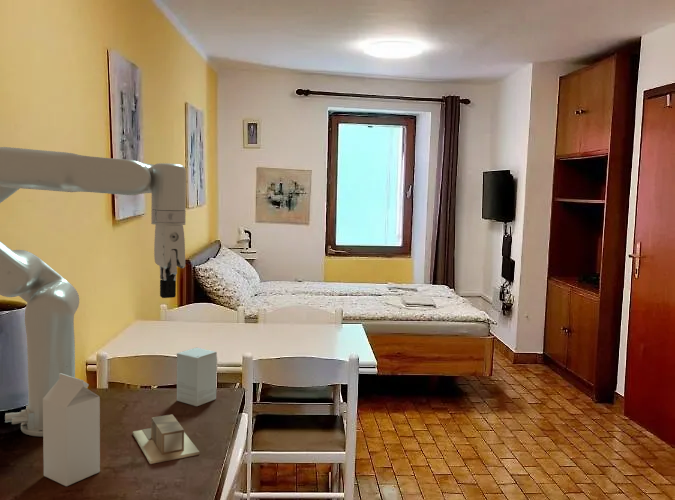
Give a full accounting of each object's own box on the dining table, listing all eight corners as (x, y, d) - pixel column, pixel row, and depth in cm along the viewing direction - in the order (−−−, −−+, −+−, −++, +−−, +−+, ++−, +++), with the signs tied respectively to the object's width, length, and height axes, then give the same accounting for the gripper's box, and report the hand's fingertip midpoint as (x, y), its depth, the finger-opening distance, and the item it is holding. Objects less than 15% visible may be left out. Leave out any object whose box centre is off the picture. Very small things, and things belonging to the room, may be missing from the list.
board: (150, 464, 120) (150, 460, 119) (132, 434, 133) (132, 431, 133) (199, 454, 125) (199, 451, 125) (177, 426, 138) (177, 423, 138)
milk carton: (66, 487, 109) (65, 385, 107) (43, 476, 113) (42, 377, 111) (100, 472, 115) (100, 376, 113) (77, 462, 119) (76, 368, 117)
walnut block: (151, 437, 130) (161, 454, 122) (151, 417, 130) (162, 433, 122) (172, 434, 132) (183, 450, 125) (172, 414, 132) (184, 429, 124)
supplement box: (217, 399, 157) (218, 351, 156) (196, 407, 151) (196, 357, 149) (196, 393, 161) (197, 346, 159) (175, 400, 155) (176, 352, 153)
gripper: (194, 220, 133) (193, 302, 135) (175, 216, 146) (175, 290, 148) (160, 220, 130) (159, 304, 132) (144, 215, 142) (143, 292, 144)
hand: (167, 296), depth 140 cm, fingers closed
